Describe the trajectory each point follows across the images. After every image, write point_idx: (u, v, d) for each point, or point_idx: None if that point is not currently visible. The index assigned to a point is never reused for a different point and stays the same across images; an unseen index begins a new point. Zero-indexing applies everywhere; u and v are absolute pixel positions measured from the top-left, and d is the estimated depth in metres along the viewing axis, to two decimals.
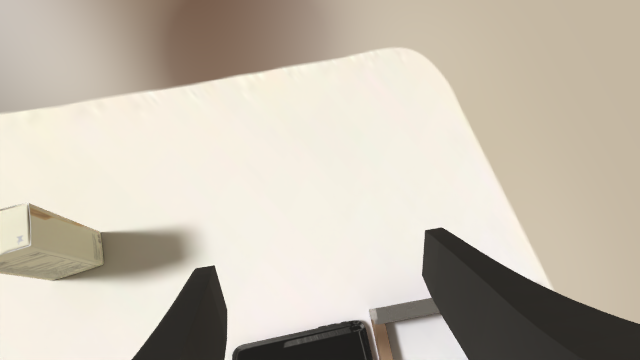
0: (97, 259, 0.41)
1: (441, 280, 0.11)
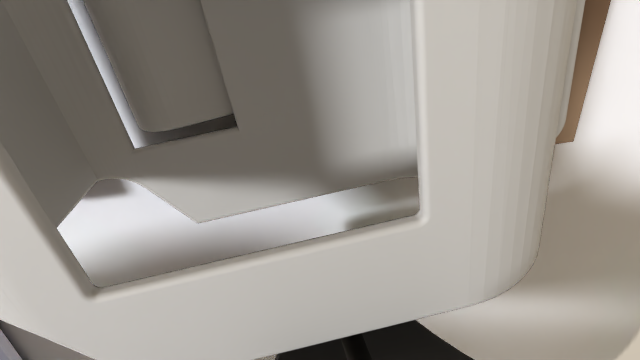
0: None
1: None
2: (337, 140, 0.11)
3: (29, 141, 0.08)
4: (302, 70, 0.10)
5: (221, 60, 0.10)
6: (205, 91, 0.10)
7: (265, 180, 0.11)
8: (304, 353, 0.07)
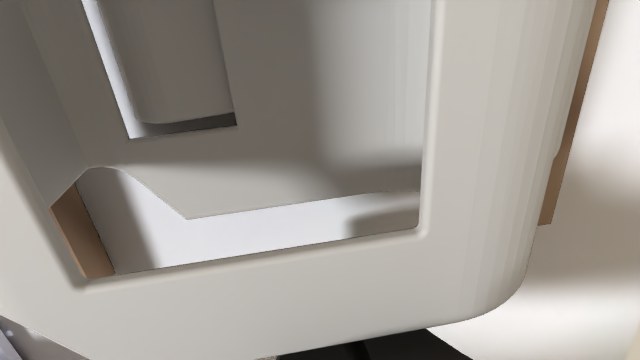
0: None
1: None
2: (335, 147, 0.11)
3: (23, 122, 0.08)
4: (307, 75, 0.10)
5: (227, 58, 0.10)
6: (207, 87, 0.10)
7: (259, 181, 0.11)
8: (305, 353, 0.07)
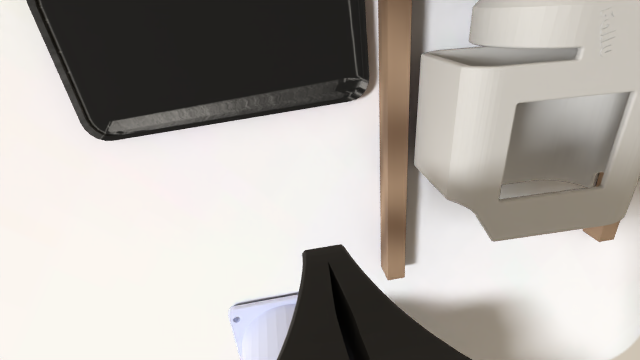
0: None
1: (333, 300, 0.11)
2: (521, 157, 0.23)
3: None
4: (518, 124, 0.22)
5: None
6: None
7: None
8: (305, 352, 0.07)
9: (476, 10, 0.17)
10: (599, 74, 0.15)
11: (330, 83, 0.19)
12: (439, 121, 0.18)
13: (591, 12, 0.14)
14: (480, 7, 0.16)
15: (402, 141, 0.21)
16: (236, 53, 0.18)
